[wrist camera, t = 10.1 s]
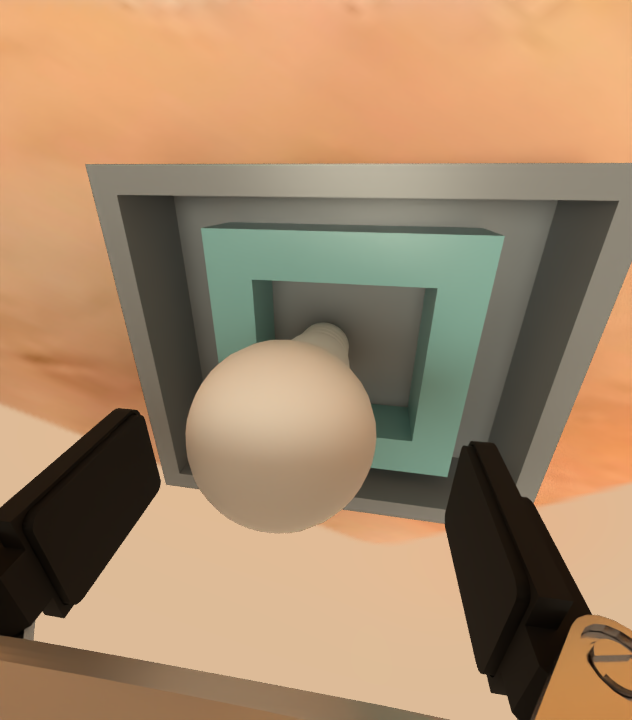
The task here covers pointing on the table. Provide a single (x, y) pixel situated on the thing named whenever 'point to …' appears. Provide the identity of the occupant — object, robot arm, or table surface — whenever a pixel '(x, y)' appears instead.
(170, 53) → the table surface
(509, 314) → the open box
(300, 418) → the lightbulb
